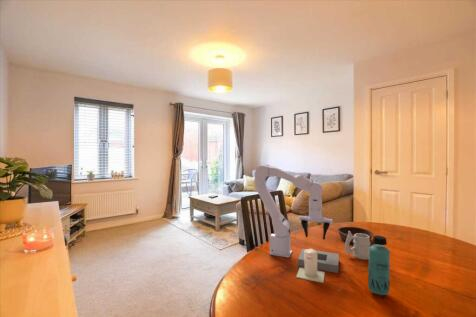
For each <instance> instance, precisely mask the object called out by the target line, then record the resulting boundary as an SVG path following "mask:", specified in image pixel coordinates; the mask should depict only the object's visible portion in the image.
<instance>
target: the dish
mask: <svg viewBox="0 0 476 317" xmlns="http://www.w3.org/2000/svg"><path fill="white" fill-rule="evenodd" d="M337 231H338V234H339V236H340V239H342V240H344V241H345V242H346V239H347V236H348V231H350V232H351V234H352V236H354V234H356V233H362V234H366V235H368V236H369V237H370V246H372V245H373V240H371V239H373V236H375V235H374V233H373V232H372V231H371V230H368V229H366V228H362V227H356V226H341V227H339V228H337ZM353 240H354V239H351V241H350V243H351V244H354V242H353ZM350 243H349V244H350Z"/></svg>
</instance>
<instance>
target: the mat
mask: <svg viewBox="0 0 476 317" xmlns="http://www.w3.org/2000/svg"><path fill="white" fill-rule="evenodd" d="M325 275H326V271H323V270H317V276H316V277H308V276H306V275H305V274H304V267H299V268H298V271H297V274H296V276H295V277H296V278H297V279H302V280H306V281H312V282H317V283H322V284H324V282H325Z"/></svg>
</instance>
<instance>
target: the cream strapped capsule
mask: <svg viewBox="0 0 476 317" xmlns="http://www.w3.org/2000/svg"><path fill="white" fill-rule="evenodd" d="M305 249H306V250H304V267H303V268H304V274H305V275H306V276H308V277H316V276H317V271H318V269H317V251H318V250H315V249H314V248H305Z"/></svg>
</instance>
